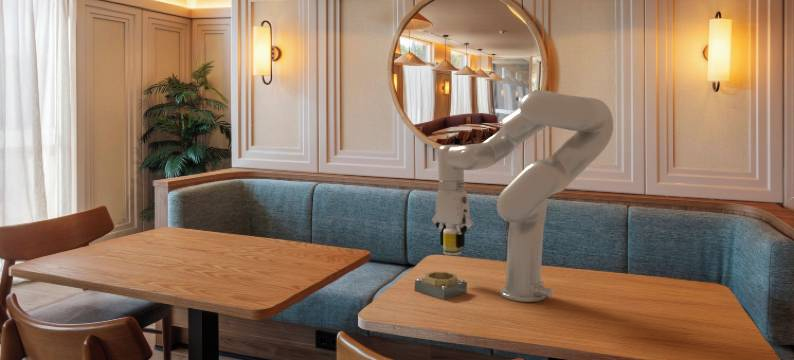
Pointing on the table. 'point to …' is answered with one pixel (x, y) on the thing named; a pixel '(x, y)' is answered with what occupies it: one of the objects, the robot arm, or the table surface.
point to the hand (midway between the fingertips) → (452, 245)
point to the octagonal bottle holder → (441, 285)
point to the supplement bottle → (450, 240)
